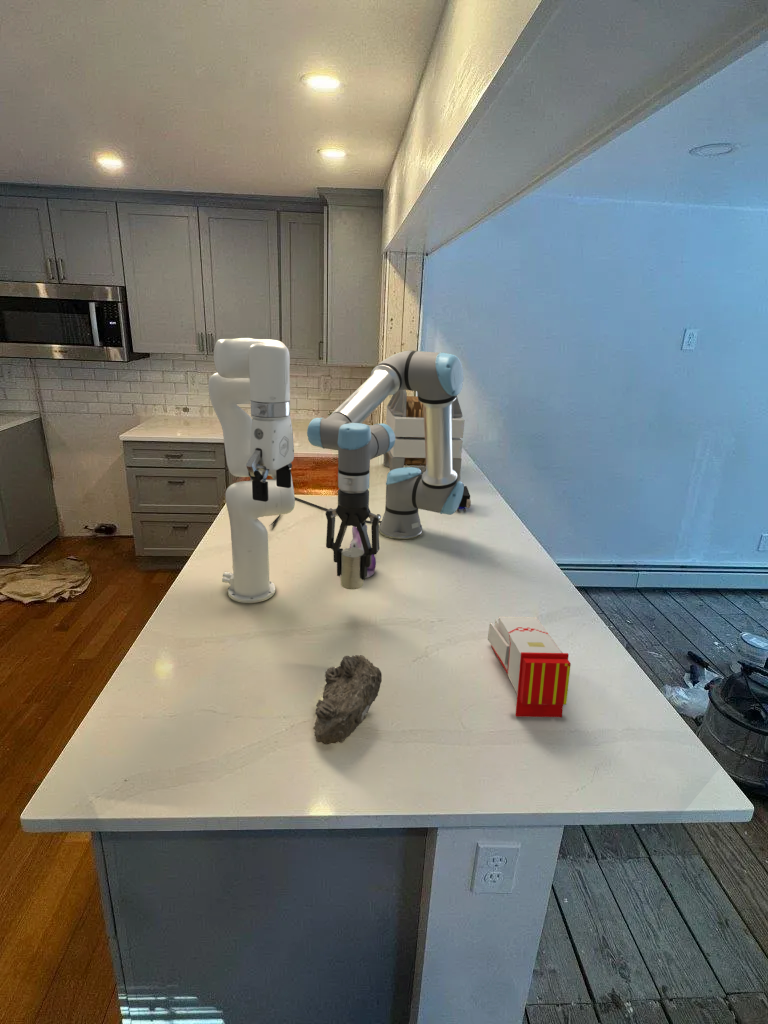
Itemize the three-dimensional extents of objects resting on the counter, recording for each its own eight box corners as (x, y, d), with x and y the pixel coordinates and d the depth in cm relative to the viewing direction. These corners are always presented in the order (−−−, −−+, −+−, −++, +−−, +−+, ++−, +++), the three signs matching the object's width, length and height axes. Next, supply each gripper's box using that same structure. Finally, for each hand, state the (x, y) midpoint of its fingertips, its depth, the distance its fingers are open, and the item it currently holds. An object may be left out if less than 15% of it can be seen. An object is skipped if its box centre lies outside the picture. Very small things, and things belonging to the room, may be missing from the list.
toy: (534, 602, 136) (579, 659, 107) (529, 653, 139) (572, 723, 110) (484, 601, 136) (516, 658, 107) (480, 652, 139) (510, 722, 109)
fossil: (318, 656, 121) (374, 625, 116) (346, 686, 123) (402, 656, 118) (294, 738, 101) (359, 705, 96) (328, 771, 104) (393, 740, 99)
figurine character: (470, 516, 223) (465, 500, 237) (473, 499, 220) (467, 484, 233) (453, 516, 223) (449, 500, 236) (455, 498, 220) (451, 483, 233)
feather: (288, 507, 224) (291, 503, 223) (271, 531, 197) (274, 527, 197) (285, 505, 224) (287, 501, 223) (267, 528, 197) (269, 524, 197)
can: (367, 582, 146) (368, 550, 143) (356, 591, 141) (356, 559, 138) (347, 577, 148) (348, 545, 145) (336, 586, 144) (336, 554, 140)
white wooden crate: (382, 463, 289) (386, 382, 275) (445, 464, 293) (451, 384, 279) (390, 482, 257) (394, 392, 243) (460, 483, 261) (468, 394, 247)
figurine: (354, 583, 162) (355, 534, 157) (340, 569, 171) (341, 522, 166) (383, 577, 167) (385, 530, 161) (368, 563, 175) (369, 518, 170)
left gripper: (265, 418, 101) (268, 509, 107) (307, 405, 117) (307, 484, 122) (228, 414, 103) (233, 503, 109) (274, 401, 119) (276, 480, 125)
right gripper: (311, 489, 134) (312, 576, 143) (387, 498, 130) (384, 587, 138) (322, 480, 141) (322, 564, 149) (395, 488, 137) (391, 574, 145)
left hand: (272, 493), depth 116 cm, fingers open, 9 cm apart
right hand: (352, 575), depth 144 cm, fingers closed on can, 6 cm apart
